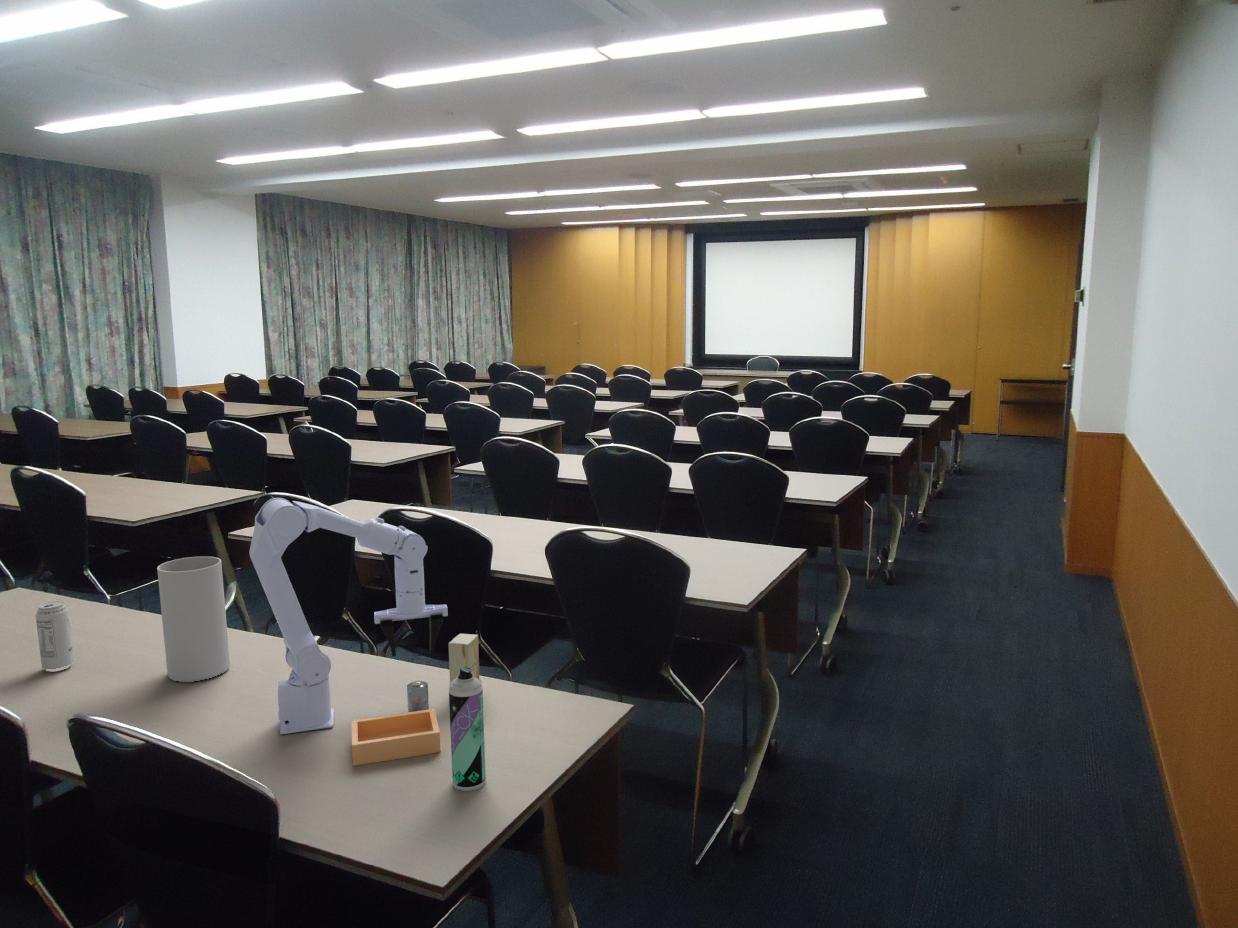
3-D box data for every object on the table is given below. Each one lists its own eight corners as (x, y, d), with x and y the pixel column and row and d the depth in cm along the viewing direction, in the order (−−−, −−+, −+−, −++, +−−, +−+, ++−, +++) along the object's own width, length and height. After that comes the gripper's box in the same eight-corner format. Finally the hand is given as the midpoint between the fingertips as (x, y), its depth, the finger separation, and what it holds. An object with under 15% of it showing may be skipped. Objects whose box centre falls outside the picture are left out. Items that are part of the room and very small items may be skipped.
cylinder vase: (234, 674, 184) (225, 565, 180) (171, 688, 177) (160, 575, 173) (225, 657, 194) (216, 553, 191) (164, 669, 188) (154, 562, 184)
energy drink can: (79, 666, 190) (72, 603, 187) (50, 675, 185) (42, 610, 182) (66, 661, 193) (59, 598, 191) (37, 669, 188) (29, 606, 186)
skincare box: (469, 701, 170) (467, 644, 168) (449, 700, 171) (447, 643, 169) (480, 688, 176) (479, 633, 174) (461, 687, 177) (459, 632, 175)
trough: (353, 765, 145) (351, 745, 144) (352, 739, 154) (351, 720, 154) (440, 751, 149) (439, 732, 149) (435, 727, 159) (434, 708, 158)
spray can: (454, 774, 142) (450, 663, 139) (487, 772, 142) (483, 661, 139) (450, 792, 136) (446, 676, 133) (484, 790, 137) (480, 675, 134)
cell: (409, 719, 162) (407, 687, 161) (407, 710, 166) (406, 679, 165) (430, 716, 163) (428, 684, 162) (428, 708, 167) (426, 676, 166)
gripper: (443, 579, 176) (446, 641, 178) (372, 586, 171) (375, 649, 173) (447, 589, 169) (450, 653, 171) (373, 596, 164) (377, 662, 167)
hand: (413, 652), depth 172 cm, fingers open, 7 cm apart
